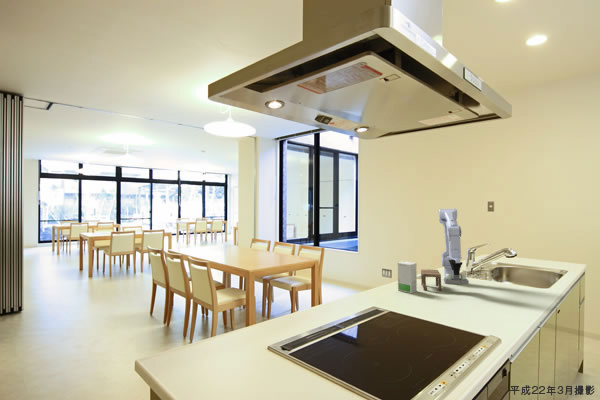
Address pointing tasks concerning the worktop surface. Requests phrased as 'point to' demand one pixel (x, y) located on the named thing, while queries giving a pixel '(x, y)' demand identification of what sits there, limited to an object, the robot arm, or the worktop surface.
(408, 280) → the skincare box
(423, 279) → the walnut shelf
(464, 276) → the grey plastic caddy
